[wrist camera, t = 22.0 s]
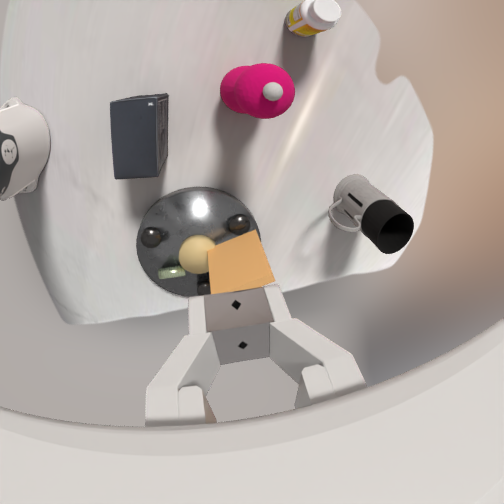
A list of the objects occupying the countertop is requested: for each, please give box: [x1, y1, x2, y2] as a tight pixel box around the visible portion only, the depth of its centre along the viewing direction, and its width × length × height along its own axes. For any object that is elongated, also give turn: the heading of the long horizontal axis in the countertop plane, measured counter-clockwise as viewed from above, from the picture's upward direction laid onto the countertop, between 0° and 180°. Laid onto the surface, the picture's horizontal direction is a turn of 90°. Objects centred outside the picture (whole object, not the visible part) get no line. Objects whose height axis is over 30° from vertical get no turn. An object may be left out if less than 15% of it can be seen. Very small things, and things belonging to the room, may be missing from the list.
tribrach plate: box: [136, 187, 261, 297], centre depth 49 cm, size 23×23×4 cm
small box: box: [110, 93, 169, 179], centre depth 33 cm, size 11×6×10 cm, turn 176°
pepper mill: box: [220, 63, 295, 119], centre depth 28 cm, size 7×7×20 cm
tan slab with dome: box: [179, 229, 275, 294], centre depth 43 cm, size 14×7×14 cm, turn 110°
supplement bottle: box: [285, 0, 341, 37], centre depth 27 cm, size 6×6×10 cm
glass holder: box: [328, 174, 414, 254], centre depth 44 cm, size 9×14×15 cm, turn 86°
